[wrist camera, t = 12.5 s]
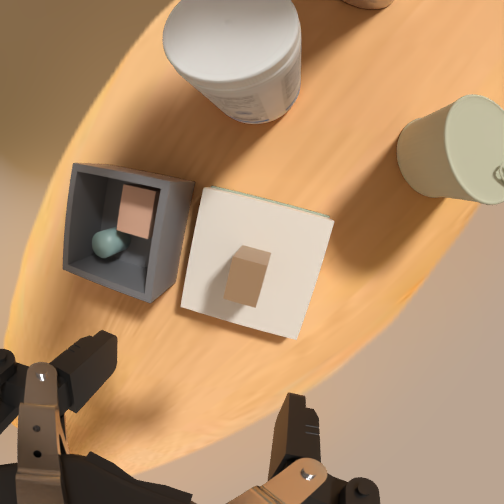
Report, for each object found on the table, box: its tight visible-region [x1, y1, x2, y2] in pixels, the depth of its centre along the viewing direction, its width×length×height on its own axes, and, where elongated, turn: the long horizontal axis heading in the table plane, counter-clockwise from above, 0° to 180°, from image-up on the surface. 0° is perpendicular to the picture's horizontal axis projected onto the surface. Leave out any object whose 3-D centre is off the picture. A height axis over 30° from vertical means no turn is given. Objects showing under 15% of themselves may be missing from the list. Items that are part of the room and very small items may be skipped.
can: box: [397, 95, 504, 205], centre depth 22 cm, size 9×9×12 cm
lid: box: [181, 187, 334, 340], centre depth 30 cm, size 13×13×7 cm
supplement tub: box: [163, 0, 301, 124], centre depth 22 cm, size 10×10×15 cm
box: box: [63, 163, 195, 303], centre depth 31 cm, size 12×12×7 cm
